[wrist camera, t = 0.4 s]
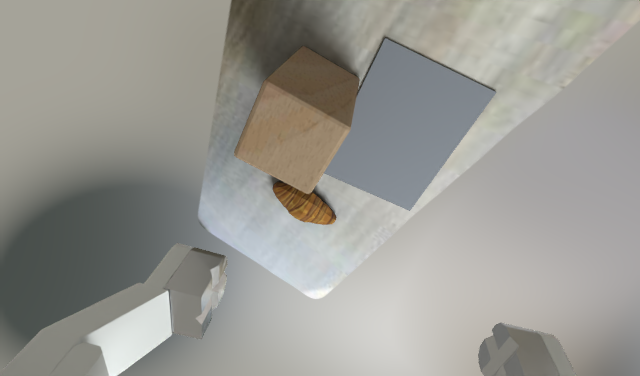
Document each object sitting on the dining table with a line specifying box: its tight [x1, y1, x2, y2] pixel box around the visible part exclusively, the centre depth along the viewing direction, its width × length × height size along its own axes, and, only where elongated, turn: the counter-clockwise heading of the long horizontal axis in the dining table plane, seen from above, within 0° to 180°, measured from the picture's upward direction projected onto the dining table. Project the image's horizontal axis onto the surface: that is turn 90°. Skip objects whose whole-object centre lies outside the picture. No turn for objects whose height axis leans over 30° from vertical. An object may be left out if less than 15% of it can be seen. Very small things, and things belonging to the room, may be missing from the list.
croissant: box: [273, 182, 336, 225], centre depth 62 cm, size 14×7×5 cm, turn 59°
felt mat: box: [324, 38, 496, 211], centre depth 55 cm, size 24×18×1 cm
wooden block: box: [234, 46, 360, 194], centre depth 45 cm, size 10×10×20 cm
